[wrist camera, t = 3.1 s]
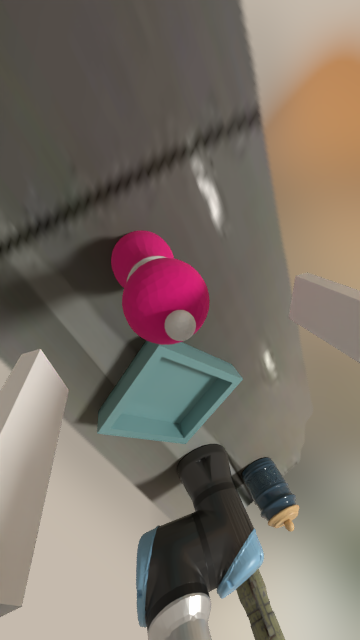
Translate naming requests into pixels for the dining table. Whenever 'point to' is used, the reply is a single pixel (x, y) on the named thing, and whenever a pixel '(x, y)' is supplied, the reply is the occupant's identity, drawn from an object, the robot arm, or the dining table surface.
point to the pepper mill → (158, 289)
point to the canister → (271, 493)
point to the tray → (167, 393)
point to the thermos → (259, 608)
